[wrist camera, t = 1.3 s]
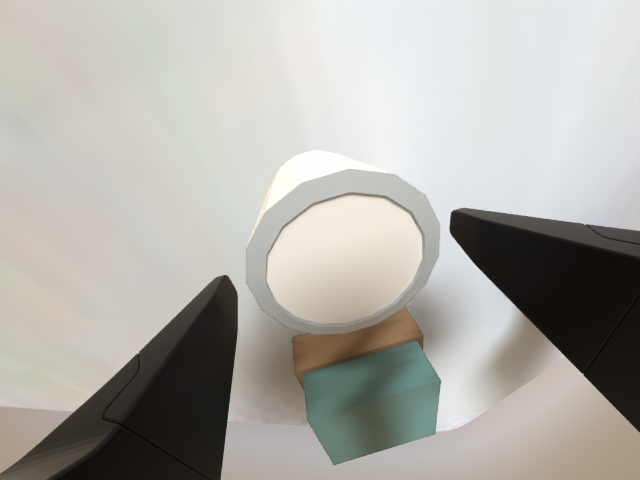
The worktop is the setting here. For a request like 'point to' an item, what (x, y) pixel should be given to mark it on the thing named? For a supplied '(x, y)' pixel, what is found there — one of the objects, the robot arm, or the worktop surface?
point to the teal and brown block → (368, 387)
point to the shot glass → (339, 245)
